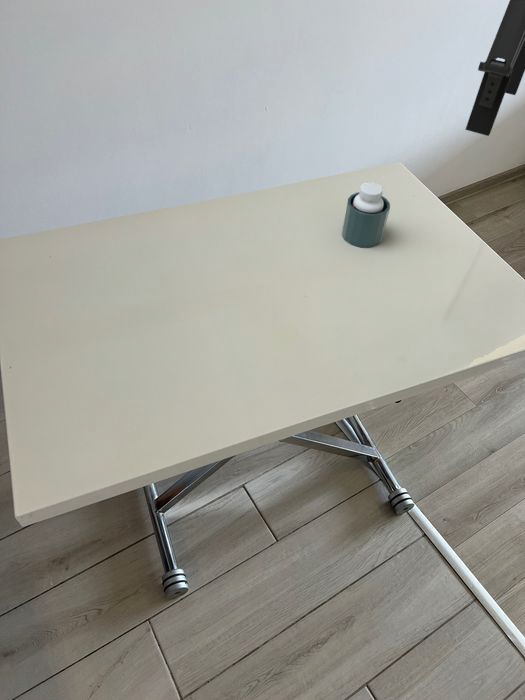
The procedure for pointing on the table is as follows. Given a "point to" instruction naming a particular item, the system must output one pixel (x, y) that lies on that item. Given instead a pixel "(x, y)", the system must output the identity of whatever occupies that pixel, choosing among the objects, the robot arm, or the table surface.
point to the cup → (364, 225)
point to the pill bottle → (369, 198)
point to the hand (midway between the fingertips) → (492, 110)
